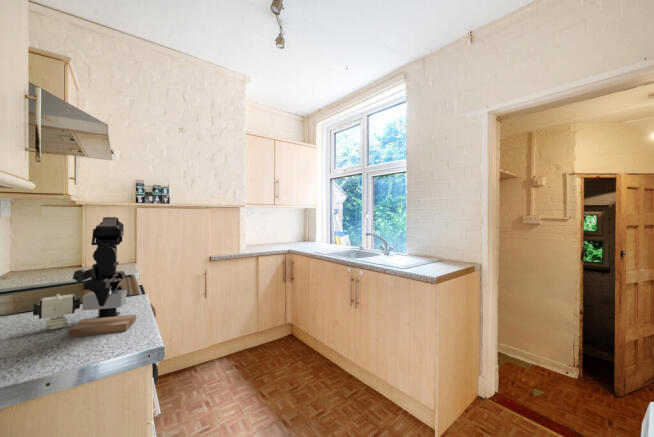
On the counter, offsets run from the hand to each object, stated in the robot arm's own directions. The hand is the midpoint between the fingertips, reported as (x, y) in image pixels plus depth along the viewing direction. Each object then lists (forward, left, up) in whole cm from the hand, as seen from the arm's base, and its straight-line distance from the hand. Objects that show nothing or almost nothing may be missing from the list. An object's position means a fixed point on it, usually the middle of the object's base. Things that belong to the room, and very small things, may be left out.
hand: (105, 303), depth 95 cm
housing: (0, 0, -1) cm, 1 cm away
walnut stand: (0, 0, -9) cm, 9 cm away
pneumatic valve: (-6, -16, -9) cm, 19 cm away
